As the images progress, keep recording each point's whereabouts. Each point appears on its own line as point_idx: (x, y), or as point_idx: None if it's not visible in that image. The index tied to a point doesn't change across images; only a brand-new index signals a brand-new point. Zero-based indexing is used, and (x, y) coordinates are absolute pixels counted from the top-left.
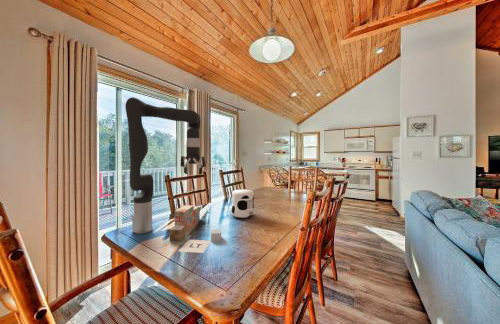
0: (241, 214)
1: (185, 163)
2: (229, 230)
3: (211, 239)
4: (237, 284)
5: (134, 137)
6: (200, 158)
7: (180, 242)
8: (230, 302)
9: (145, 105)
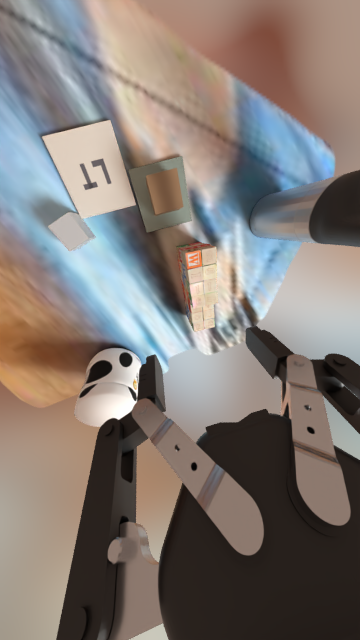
0: (103, 353)
1: (318, 391)
2: (91, 292)
3: (74, 213)
4: None
5: None
6: (149, 569)
7: (142, 179)
8: None
9: None
